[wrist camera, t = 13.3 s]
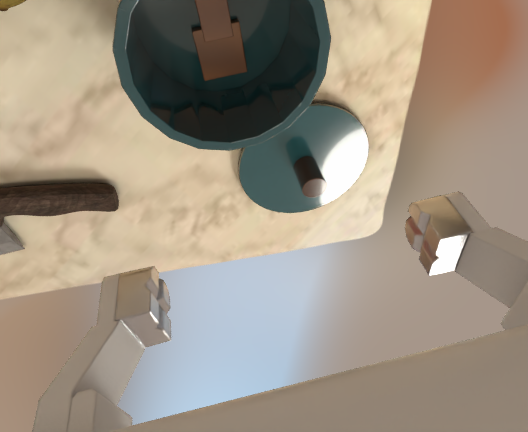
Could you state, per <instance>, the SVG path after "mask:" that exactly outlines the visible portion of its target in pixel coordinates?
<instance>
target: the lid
mask: <svg viewBox="0 0 528 432" xmlns="http://www.w3.org/2000/svg"><path fill="white" fill-rule="evenodd" d="M368 152H369V142H368V137H367V134H366V131H365V129H364V127H363V126H362V124H361V123H360V121H359V120H358V119H357V118H356V117H355V116H354V115H353V114H351V113H350V112H348V111H347V110H345V109H343V108H340V107H337V106H334V105H330V104H321V103H314V104H310V106H309V107H308V108H307V109H306V110H305V111H304V112H303V113H302V114H301V115H300V116H299V117H298V118H297V119H296V120H295V121H294V122H293V123H292V124H291V126H290V127H289V128H287V129H285V130H284V131H282V132H280V133H278V134H277V135H275V136H273V137H271V138H270V139H268V140H266V141H264V142H263V143H260V144H256V145H252V146H248V147H244V148H243V150H242V153H241V156H240V161H239V177H240V182H241V184H242V187H243V189H244V191H245V193H246V194H247V195H248V196H249V198H250V199H252V200H253V201H254V202H255V203H257V204H258V205H260V206H262V207H264V208H266V209H269V210H272V211H276V212H283V213H296V212H304V211H309V210H312V209H316V208H318V207H321V206H323V205H325V204H328V203H330V202H331V201H333V200H335V199H336V198H338V197H339V196H341V195H342V194H343V193H344V192H346V191H347V190H348V189H349V188H350V187H351V186H352V185H353V184H354V183H355V181H356V180H357V179H358V177H359V176H360V174H361V172H362V171H363V169H364V166H365V164H366V161H367V158H368Z"/></svg>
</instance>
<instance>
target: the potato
mask: <svg viewBox="0 0 528 432" xmlns="http://www.w3.org/2000/svg"><path fill="white" fill-rule="evenodd" d="M24 1H26V0H0V10H1V11H6V10H8V8H10V7H13V6H16V5H19V4H21V3H22V2H24Z"/></svg>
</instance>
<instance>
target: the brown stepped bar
mask: <svg viewBox="0 0 528 432" xmlns="http://www.w3.org/2000/svg"><path fill="white" fill-rule="evenodd" d="M195 4H196V8H197V12H198V16H199V21H200V25H201V26H200V27H195V28H192V34H193V38H194V42H195V46H196V50H197V54H198V58H199V61H200V65H201V69H202V73H203V77H204V80H205V81H207V80H211V79H216V78H221V77H225V76H230V75H235V74H239V73H244V72H247V65H246V59H245V53H244V47H243V41H242V35H241V29H240V23H239V20H238V19H234V20H231V18H230V13H229V7H228V2H227V0H195Z"/></svg>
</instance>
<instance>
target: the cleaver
mask: <svg viewBox="0 0 528 432" xmlns="http://www.w3.org/2000/svg"><path fill="white" fill-rule="evenodd" d="M118 206H119V200H118V196H117V193H116V190H115V188H114V186H112V185H107V184H84V183H81V184H55V185H36V186H20V187H7V188H0V255H1V254H6V253H10V252H14V251H18V250H22V249H25V248H24V247H23V245H22V244H21V243H20V241H19V240H18V238H17V237H16V236H15V235H14V233H13V232H12V231H11V230H10V229H9V228H8V227H7V226H6V225H5V224H4V223H3V221H4V217H5V216H11V215H33V216H56V215H62V214H67V213H71V212H76V211H107V212H110V211H116V210H117V209H118Z"/></svg>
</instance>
